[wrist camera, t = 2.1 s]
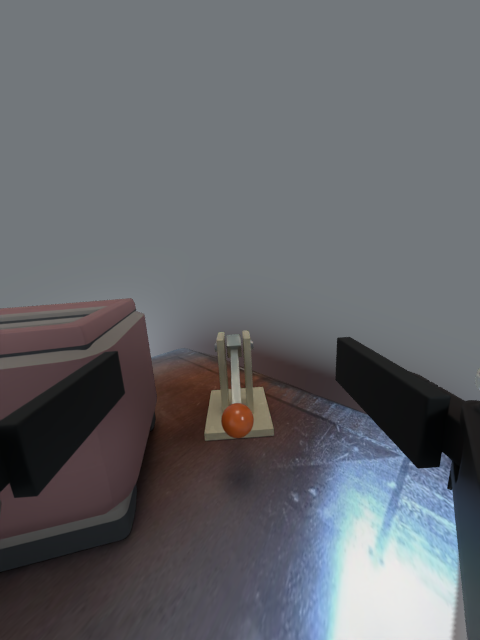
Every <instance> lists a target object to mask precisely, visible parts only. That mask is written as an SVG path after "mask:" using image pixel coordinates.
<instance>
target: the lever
mask: <svg viewBox="0 0 480 640" xmlns="http://www.w3.org/2000/svg"><path fill="white" fill-rule="evenodd" d="M227 356H228V358H231V386H232V404H231V405H229V406H228V407H227V408H226V409H225V410H224V412H223V414H222V418H221V423H222V427H223V429H224V431H225V433H226V434H227V435H229V436H230V437H233V438H242V437H244V436H246V435H247V434H249V432H250V431H251V429H252V427H253V423H254V418H253V414H252V412H251V410H250V409H249V408H248V407H247V406H246V405H244V404H242V403H241V390H240V375H239V360H238V357H242V352H241V338H240V334H239V335H227Z"/></svg>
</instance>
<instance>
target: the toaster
mask: <svg viewBox="0 0 480 640" xmlns="http://www.w3.org/2000/svg"><path fill="white" fill-rule="evenodd" d="M111 351H118V355H119V360H120V366H121V372H122V377H123V383H124V389H125V394H124V395H123V397H122V398H121V399H120V400H119V401H118V402H117V404H116V405H115V406H114V407H113V408H112V409H111V411H110V412H109V413H108V414H107V415H106V416H105V418H104V419H103V420H102V421H101V422H100V423H99V425H98V426H97V427H96V428H95V429H94V431H93V432H92V433H91V434H90V435H89V436H88V438H87V439H86V440H85V441H84V442H83V443H82V445H81V446H80V447H79V448H78V449H77V450H76V452H75V453H74V454H73V455H72V456H71V457H70V459H69V460H68V461H67V462H66V463H65V465H64V466H63V467H62V468H61V469H60V470H59V472H58V473H57V474H56V475H55V476H54V477H53V479H52V480H51V481H50V482H49V483H48V484H47V486H46V487H45V488H44V489H43V490H42V491H41V493H40V494H39V495H38V496H35V497H21V498H14V496H13V493H12V490H11V486H10V483H9V484H8V485H7V486H6V487H5V488H4V489H3V490H2V491H1V492H0V500H1V503H2V504H1V513H0V572H3V571H7V570H10V569H14V568H18V567H22V566H25V565H29V564H33V563H37V562H40V561H44V560H48V559H52V558H55V557H59V556H63V555H67V554H70V553H74V552H78V551H82V550H85V549H89V548H93V547H97V546H101V545H104V544H108V543H112V542H116V541H119V540H122V539H125V538H126V537H127V536H128V535H129V533H130V531H131V529H132V524H133V520H134V515H135V511H136V497H137V487H136V482H137V479H138V476H139V472H140V468H141V464H142V460H143V456H144V452H145V448H146V443H147V439H148V435H149V431H152V430H153V428H154V425H155V412H154V410H155V406H156V401H157V394H156V388H155V381H154V374H153V368H152V361H151V355H150V349H149V342H148V336H147V329H146V323H145V316H144V314H143V313H140V312H137V311H136V308H135V303H134V301H133V299H131V298H130V299H116V300H104V301H92V302H79V303H66V304H55V305H54V304H53V305H41V306H28V307H15V308H3V309H0V420H2V419H3V418H5V417H6V416H8V415H9V414H11V413H12V412H14V411H15V410H17V409H19V408H20V407H22V406H23V405H25V404H26V403H28V402H29V401H31V400H32V399H34V398H35V397H37V396H38V395H40V394H41V393H43V392H44V391H46V390H47V389H49V388H51V387H52V386H54V385H55V384H57V383H58V382H60V381H61V380H63V379H64V378H66V377H67V376H69V375H70V374H72V373H73V372H75V371H76V370H78V369H79V368H81V367H82V366H84V365H86V364H87V363H89V362H90V361H92V360H93V359H95V358H96V357H98V356H99V355H101V354H102V353H104V352H111Z"/></svg>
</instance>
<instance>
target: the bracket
mask: <svg viewBox="0 0 480 640" xmlns="http://www.w3.org/2000/svg"><path fill="white" fill-rule="evenodd" d="M242 334H243V352H244V370H245V388H241V389H240V390H241V403H242V404H244V405H246V406H247V407H248V408H249V409H250V410H251V412H252V414H253V418H254V423H253V427H252V429H251V431H250V432H249V434H247V435H246V436H244V437H242V438H250V437H263V436H274V428H273V424H272V420H271V416H270V412H269V409H268V405H267V401H266V397H265V393H264V389H263V387H256V388H253V383H252V365H251V364H252V363H251V349H253V341H252V340H250V336H249V331H242ZM215 351H216V352H218V365H219V377H220V389H221V390H212V391H211V396H210V402H209V408H208V414H207V420H206V426H205V433H204V436H205V441H209V440H222V439H236V438H233V437H230V436H229V435H227V434H226V433H225V431H224V429H223V427H222V423H221V418H222V414H223V412H224V410H225V409H226V408H227V407H228V406H229V405H231V404H232V389H228V377H227V363H226V350H225V336H224V332H219V333H218V336H217V343H215Z"/></svg>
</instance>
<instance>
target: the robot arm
mask: <svg viewBox="0 0 480 640" xmlns="http://www.w3.org/2000/svg"><path fill="white" fill-rule="evenodd" d="M336 381H337V382H338V383H339V384H340V385H341V386H342V387H343V388H344V389H345V390H346V392H347V393H349V395H350V396H351V397H352V398H353V399H354V400H355V401H356V402H357V403H358V404H359V405H360V407H361V408H362V409H363V410H364V411H365V412H366V413H367V414H368V415H369V416H370V417H371V418H372V420H373V421H374V422H375V423H376V424H377V425H378V426H379V427H380V428H381V429H382V430H383V431H384V432H385V433H386V435H387V436H388V437H389V438H390V439H391V440H392V441H393V442H394V443H395V444H396V445H397V446H398V447H399V449H400V450H401V451H402V452H403V453H404V454H405V455H406V456H407V457H408V458H409V459H410V460H411V461H412V463H413V464H414V465H415V466H416V467H417V468H431V467H439V466H440V460H441V454H442V452H443V453H444V454H446V455H447V456H448V457H449V458H450V459H451V460H452V464H451V470H450V476H449V481H448V487H447V489H450V490H453V500H454V510H455V520H456V531H457V541H458V551H459V561H460V571H461V581H462V590H463V601H464V611H465V622H466V632H467V640H480V401H476V400H475V401H474V400H469V401H464V400H462V399H460V398H458V397H457V396H455V395H454V394H451V393H450V392H448V391H446V390H445V389H443V388H441V387H438V385H436V384H434V383H432V382H430V381H429V380H427V379H425V378H424V377H422V376H420V375H418V374H415V373H412V372H409V371H407V370H405V369H404V368H402V367H400V366H398V365H397V364H395V363H393V362H392V361H390V360H388V359H387V358H385V357H383V356H381V355H380V354H378V353H376V352H375V351H373V350H371V349H369V348H368V347H366V346H364V345H362V344H361V343H359V342H357V341H356V340H354V339H352V338H350V337H343V338H337V357H336ZM124 394H125V389H124V383H123V377H122V372H121V366H120V360H119V355H118V351H111V352H104V353H102V354H101V355H99V356H98V357H96V358H95V359H93V360H92V361H90V362H89V363H87V364H86V365H84V366H82V367H81V368H79V369H78V370H76V371H75V372H73V373H72V374H70V375H69V376H67V377H66V378H64V379H63V380H61V381H60V382H58V383H57V384H55V385H54V386H52V387H51V388H49V389H47V390H46V391H44V392H43V393H41V394H40V395H38V396H37V397H35V398H34V399H32V400H31V401H29V402H28V403H26V404H25V405H23V406H22V407H20V408H19V409H17V410H15V411H14V412H12V413H11V414H9V415H8V416H6V417H5V418H3V419H2V420H0V492H1V491H2V490H3V489H4V488H5V487H6V486H7V485H8V484H9V483H10V486H11V490H12V493H13V496H14V498H21V497H35V496H38V495H39V494H40V493H41V491H42V490H43V489H44V488H45V487H46V486H47V484H48V483H49V482H50V481H51V480H52V479H53V477H54V476H55V475H56V474H57V473H58V472H59V470H60V469H61V468H62V467H63V466H64V465H65V463H66V462H67V461H68V460H69V459H70V457H71V456H72V455H73V454H74V453H75V452H76V450H77V449H78V448H79V447H80V446H81V445H82V443H83V442H84V441H85V440H86V439H87V438H88V436H89V435H90V434H91V433H92V432H93V431H94V429H95V428H96V427H97V426H98V425H99V423H100V422H101V421H102V420H103V419H104V418H105V416H106V415H107V414H108V413H109V412H110V411H111V409H112V408H113V407H114V406H115V405H116V404H117V402H118V401H119V400H120V399H121V398H122V397H123V395H124ZM1 504H2V503H1V500H0V513H1Z"/></svg>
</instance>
